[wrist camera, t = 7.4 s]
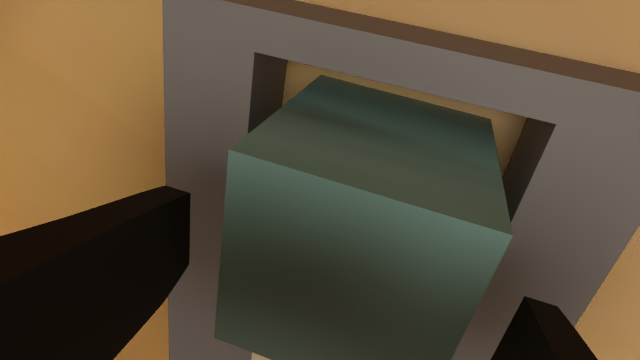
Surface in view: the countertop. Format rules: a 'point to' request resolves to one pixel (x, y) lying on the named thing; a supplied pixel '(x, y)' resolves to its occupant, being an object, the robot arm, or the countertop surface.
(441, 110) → the block
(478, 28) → the countertop surface
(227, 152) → the frame
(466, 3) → the countertop surface
